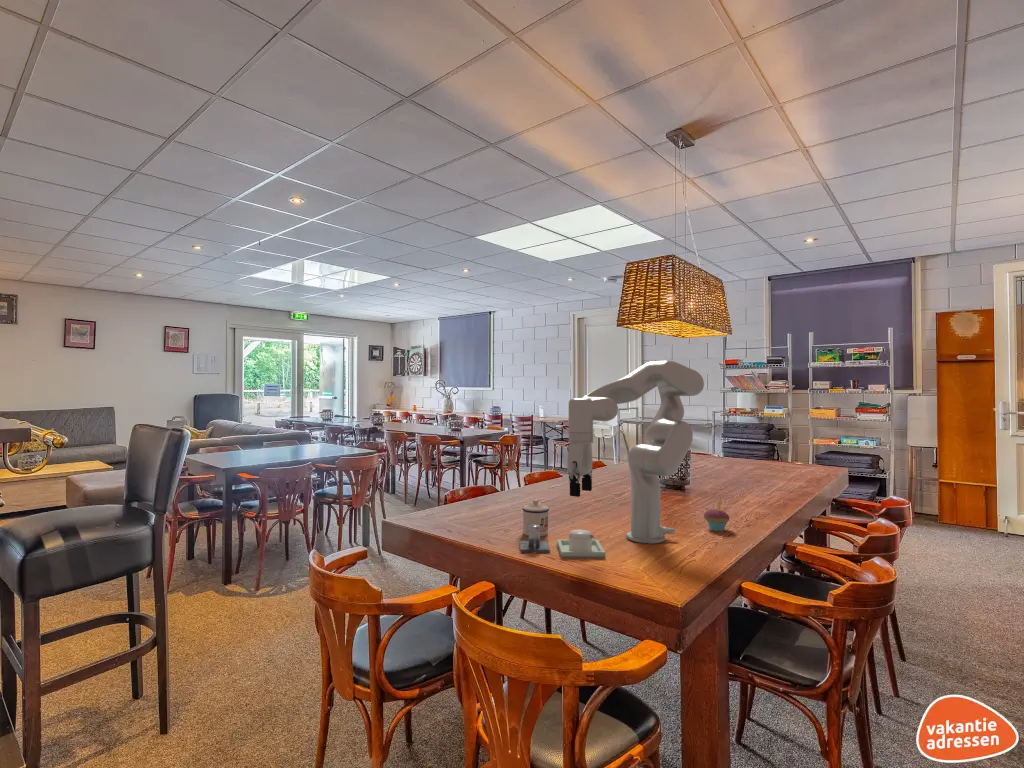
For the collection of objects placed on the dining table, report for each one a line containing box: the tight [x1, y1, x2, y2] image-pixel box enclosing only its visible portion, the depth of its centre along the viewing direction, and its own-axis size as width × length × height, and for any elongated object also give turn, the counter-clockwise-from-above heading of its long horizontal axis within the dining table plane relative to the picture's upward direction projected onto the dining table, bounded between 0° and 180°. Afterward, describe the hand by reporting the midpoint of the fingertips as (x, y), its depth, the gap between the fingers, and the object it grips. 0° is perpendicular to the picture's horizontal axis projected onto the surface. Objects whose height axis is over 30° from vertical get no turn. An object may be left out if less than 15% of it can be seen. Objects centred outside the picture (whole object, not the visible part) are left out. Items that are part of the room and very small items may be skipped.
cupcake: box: [703, 497, 730, 532], centre depth 185 cm, size 9×8×12 cm
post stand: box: [519, 524, 551, 554], centre depth 161 cm, size 9×9×7 cm
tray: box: [556, 538, 606, 559], centre depth 158 cm, size 13×13×2 cm
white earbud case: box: [568, 529, 595, 551], centre depth 158 cm, size 7×8×5 cm
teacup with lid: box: [522, 499, 550, 537], centre depth 179 cm, size 12×9×12 cm
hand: (581, 493), depth 158 cm, fingers open, 9 cm apart
